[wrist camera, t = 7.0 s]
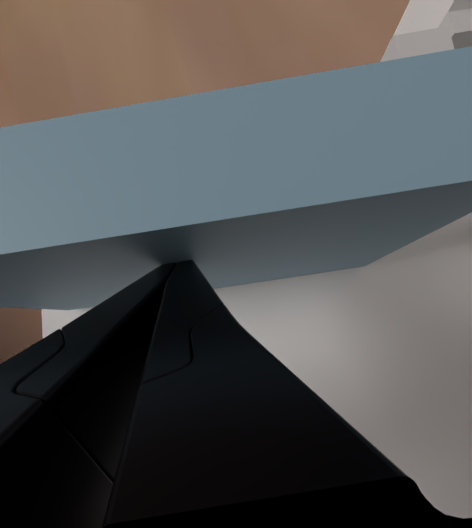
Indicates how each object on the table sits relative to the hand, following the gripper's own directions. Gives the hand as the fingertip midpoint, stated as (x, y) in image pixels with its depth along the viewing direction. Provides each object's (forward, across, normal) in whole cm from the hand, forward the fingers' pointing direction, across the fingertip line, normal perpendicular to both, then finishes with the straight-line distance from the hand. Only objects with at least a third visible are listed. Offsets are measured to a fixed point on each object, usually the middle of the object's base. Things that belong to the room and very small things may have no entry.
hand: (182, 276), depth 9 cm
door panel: (+6, 0, -3) cm, 7 cm away
